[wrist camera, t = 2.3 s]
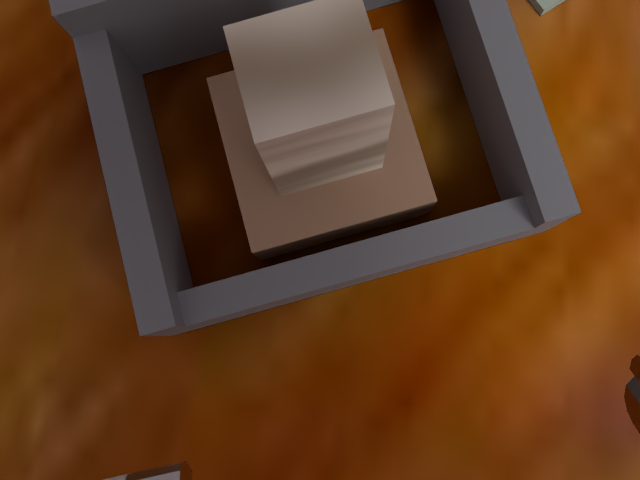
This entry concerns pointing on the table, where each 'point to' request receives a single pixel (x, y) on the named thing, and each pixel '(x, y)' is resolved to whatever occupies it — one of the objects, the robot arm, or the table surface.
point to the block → (313, 92)
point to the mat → (544, 5)
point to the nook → (313, 203)
